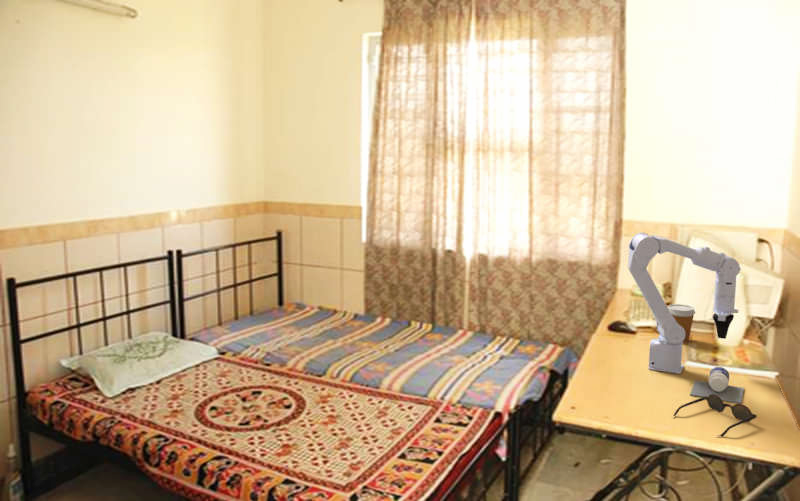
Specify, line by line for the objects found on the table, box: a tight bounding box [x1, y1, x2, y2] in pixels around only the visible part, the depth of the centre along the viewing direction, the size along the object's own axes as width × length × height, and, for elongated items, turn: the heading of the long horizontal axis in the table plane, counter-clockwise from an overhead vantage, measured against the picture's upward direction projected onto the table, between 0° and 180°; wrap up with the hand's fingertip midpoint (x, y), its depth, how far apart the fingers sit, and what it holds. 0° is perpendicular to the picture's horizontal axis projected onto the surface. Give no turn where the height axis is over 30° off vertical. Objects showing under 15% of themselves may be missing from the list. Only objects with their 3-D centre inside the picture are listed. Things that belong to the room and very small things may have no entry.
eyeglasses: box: [673, 394, 757, 437], centre depth 171 cm, size 15×15×5 cm
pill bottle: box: [707, 366, 730, 392], centre depth 191 cm, size 5×5×9 cm
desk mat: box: [689, 379, 745, 404], centre depth 190 cm, size 13×12×1 cm
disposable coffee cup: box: [667, 303, 696, 344], centre depth 236 cm, size 10×10×12 cm
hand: (721, 337), depth 205 cm, fingers closed
